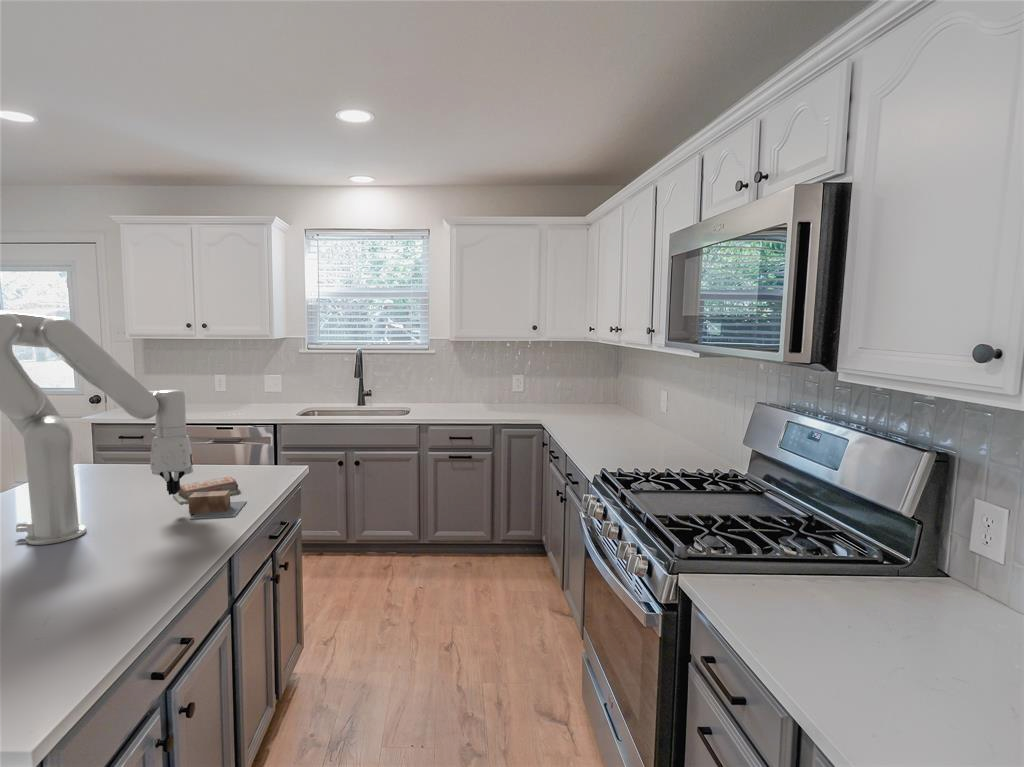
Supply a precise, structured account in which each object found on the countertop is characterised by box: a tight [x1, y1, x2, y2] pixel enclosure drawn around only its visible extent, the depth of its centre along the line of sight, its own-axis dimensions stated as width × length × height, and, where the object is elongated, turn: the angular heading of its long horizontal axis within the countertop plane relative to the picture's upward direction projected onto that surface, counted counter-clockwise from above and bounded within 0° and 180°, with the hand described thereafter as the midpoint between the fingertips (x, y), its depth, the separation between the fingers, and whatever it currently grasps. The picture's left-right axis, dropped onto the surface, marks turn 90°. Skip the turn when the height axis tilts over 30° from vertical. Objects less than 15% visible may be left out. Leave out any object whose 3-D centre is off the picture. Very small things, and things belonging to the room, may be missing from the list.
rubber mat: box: [189, 500, 248, 521], centre depth 172 cm, size 12×14×1 cm
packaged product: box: [172, 476, 241, 505], centre depth 188 cm, size 18×5×10 cm
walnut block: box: [188, 491, 231, 515], centre depth 171 cm, size 5×5×10 cm
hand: (173, 493), depth 169 cm, fingers closed
